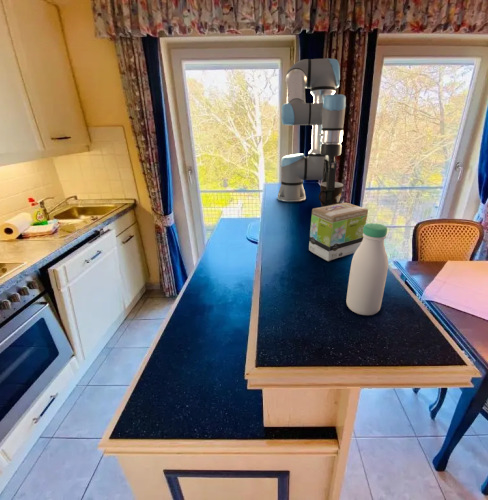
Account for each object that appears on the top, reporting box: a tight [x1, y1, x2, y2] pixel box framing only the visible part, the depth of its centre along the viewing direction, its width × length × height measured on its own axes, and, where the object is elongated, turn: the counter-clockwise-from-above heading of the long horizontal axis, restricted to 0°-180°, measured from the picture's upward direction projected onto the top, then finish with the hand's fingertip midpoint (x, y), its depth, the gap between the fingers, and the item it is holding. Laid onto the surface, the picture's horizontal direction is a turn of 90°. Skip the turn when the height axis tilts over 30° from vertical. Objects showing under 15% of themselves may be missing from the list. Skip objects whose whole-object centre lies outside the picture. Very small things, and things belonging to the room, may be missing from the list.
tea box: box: [308, 201, 369, 262], centre depth 90 cm, size 15×10×15 cm, turn 122°
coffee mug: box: [318, 181, 344, 207], centre depth 109 cm, size 12×9×10 cm
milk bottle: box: [345, 222, 389, 316], centre depth 61 cm, size 8×8×20 cm
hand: (326, 205), depth 111 cm, fingers closed on coffee mug, 7 cm apart
